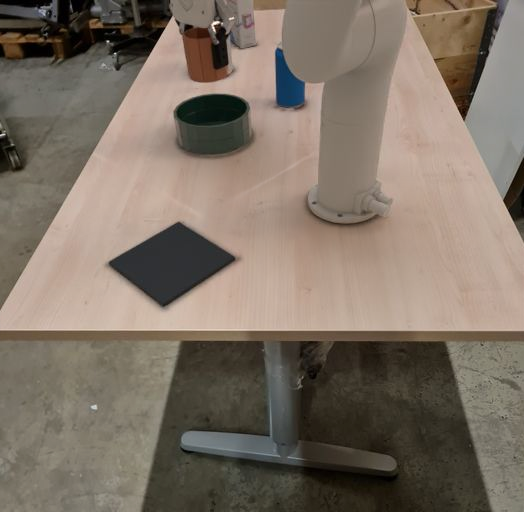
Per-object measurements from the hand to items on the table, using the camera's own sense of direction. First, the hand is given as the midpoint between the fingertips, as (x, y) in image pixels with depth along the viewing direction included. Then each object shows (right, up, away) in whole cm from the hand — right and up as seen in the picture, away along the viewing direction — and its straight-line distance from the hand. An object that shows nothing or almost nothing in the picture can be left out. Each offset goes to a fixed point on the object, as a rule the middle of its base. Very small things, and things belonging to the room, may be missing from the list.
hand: (207, 61), depth 89 cm
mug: (-3, +19, +36) cm, 41 cm away
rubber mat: (-4, -40, -14) cm, 42 cm away
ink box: (+5, +34, +48) cm, 59 cm away
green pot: (0, -9, +11) cm, 15 cm away
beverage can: (+17, +3, +21) cm, 27 cm away
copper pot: (0, -1, +2) cm, 2 cm away
